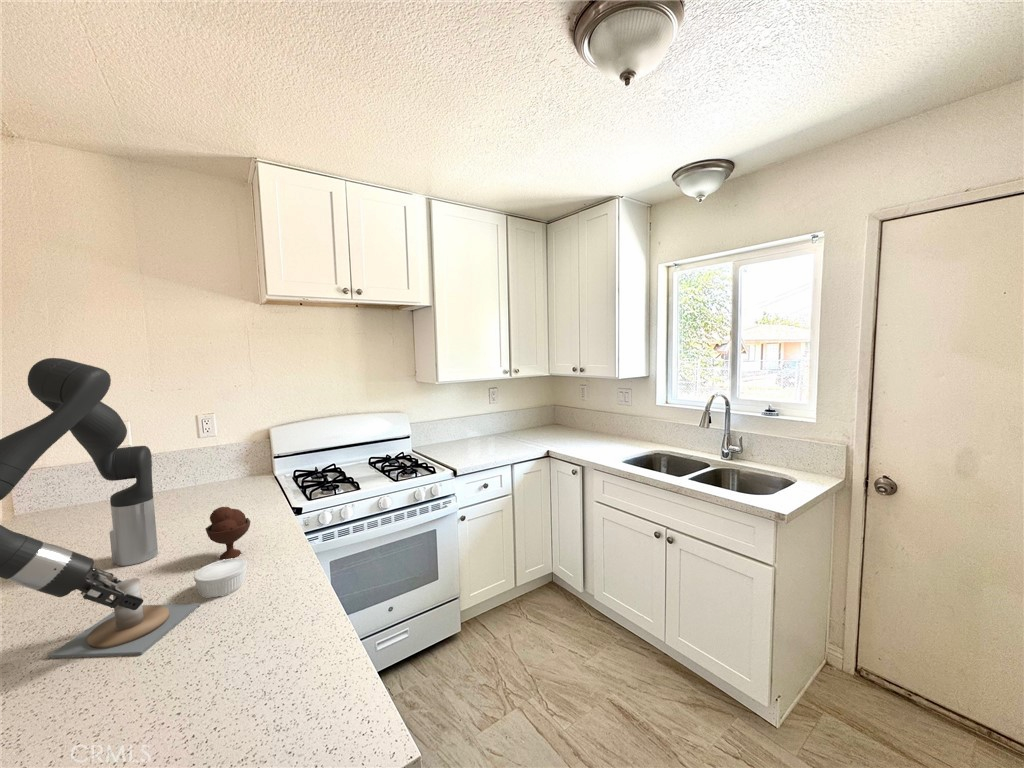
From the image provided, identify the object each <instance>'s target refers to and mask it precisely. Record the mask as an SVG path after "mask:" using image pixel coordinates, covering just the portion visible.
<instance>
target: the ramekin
mask: <svg viewBox="0 0 1024 768" xmlns="http://www.w3.org/2000/svg"><path fill="white" fill-rule="evenodd" d="M248 564H249V563H248V561H247V559H243V558H238V557H236V558H233V559H226V560H218V561H214V562H212V563H209V564H207V565H204V566H202V567H201V568H200V569H198V570H197V571H196V572H195V573H194V576H193V580H194V582H195V585H196V587H197V591H198V593H199V595H200V596H201V597H203V598H206V597H207V599H212V598H211V597H216V598H219V597H218V596H221V597H223V596H222V595H224V596H226V595H225V594H227V595H229V594H228V593H230V594H232V593H234V592H236V591H238V588H239V589H240V588H241V587H242V586H243V584H244V583H245V581H246V577H247V569H248V566H249V565H248ZM235 590H236V591H235ZM233 591H234V592H233ZM231 592H232V593H231Z"/></svg>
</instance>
